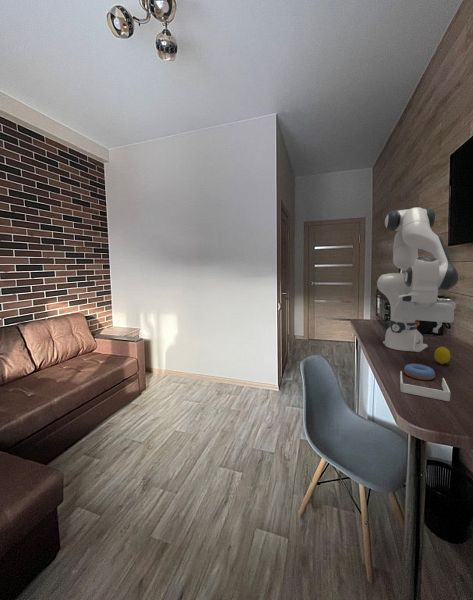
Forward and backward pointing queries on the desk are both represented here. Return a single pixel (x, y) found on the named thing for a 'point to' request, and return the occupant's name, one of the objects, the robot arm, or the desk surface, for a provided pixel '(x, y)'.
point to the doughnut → (419, 371)
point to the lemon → (442, 355)
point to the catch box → (426, 390)
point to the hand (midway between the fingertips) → (420, 331)
